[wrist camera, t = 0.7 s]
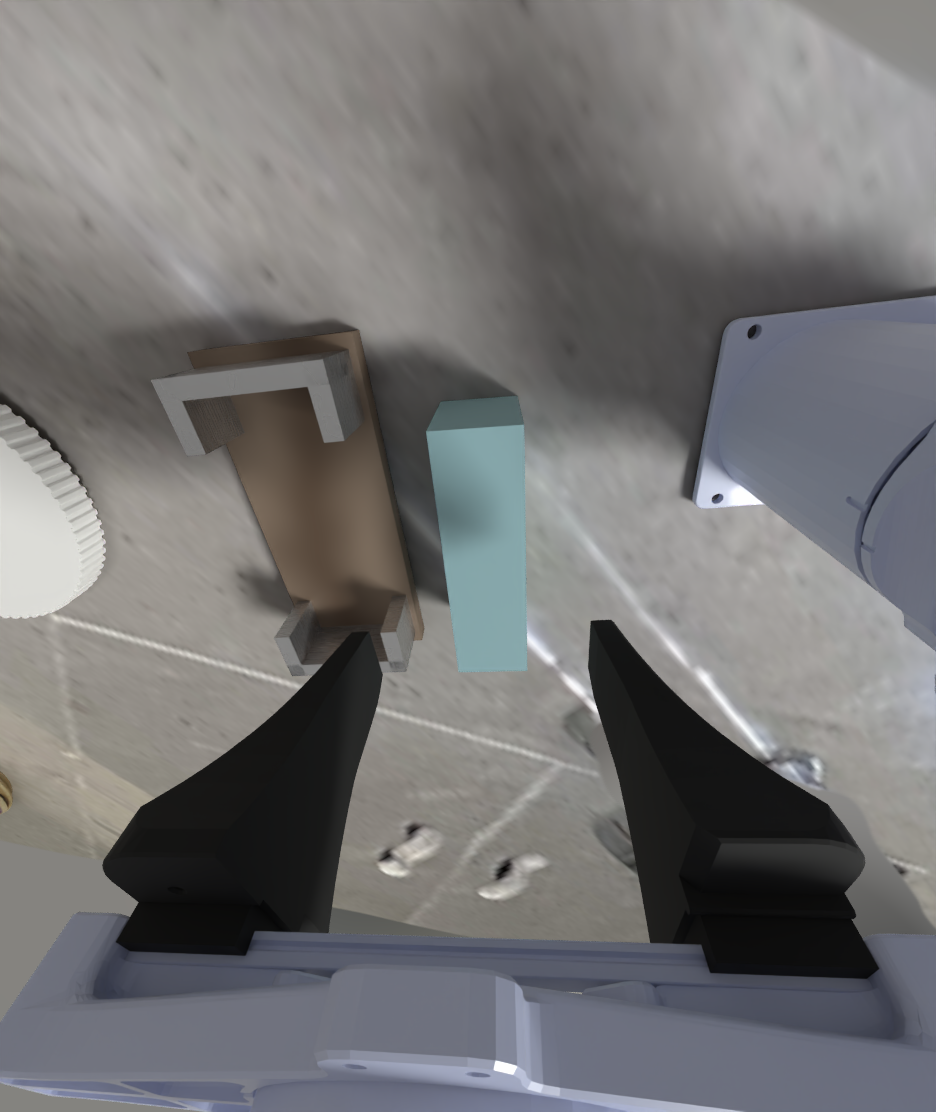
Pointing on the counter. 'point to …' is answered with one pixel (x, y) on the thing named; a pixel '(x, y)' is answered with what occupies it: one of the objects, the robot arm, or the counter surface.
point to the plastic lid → (42, 525)
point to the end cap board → (321, 491)
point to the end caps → (213, 421)
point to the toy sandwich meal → (5, 794)
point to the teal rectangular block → (482, 528)
